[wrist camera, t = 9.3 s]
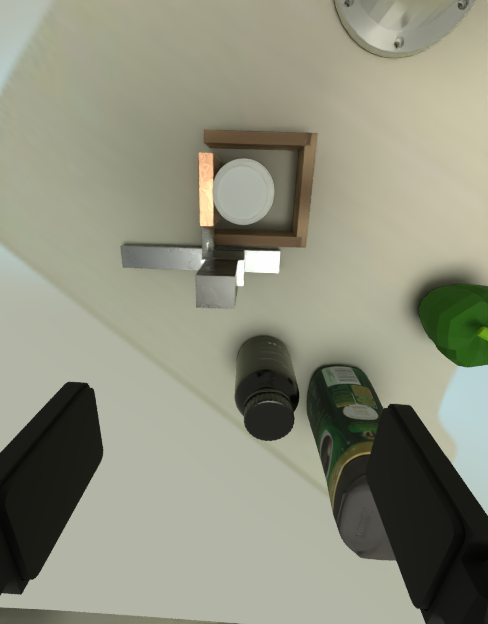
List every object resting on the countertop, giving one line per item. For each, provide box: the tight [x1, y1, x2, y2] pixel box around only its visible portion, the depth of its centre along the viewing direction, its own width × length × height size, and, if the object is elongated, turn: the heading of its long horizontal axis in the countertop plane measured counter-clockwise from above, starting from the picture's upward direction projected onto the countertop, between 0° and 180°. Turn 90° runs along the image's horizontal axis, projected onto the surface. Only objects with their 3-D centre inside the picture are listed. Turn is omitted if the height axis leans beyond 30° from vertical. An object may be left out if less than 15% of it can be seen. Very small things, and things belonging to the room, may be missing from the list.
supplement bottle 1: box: [212, 158, 275, 225], centre depth 29 cm, size 5×5×10 cm
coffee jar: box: [307, 366, 396, 560], centre depth 34 cm, size 10×8×19 cm
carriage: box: [195, 153, 245, 309], centre depth 28 cm, size 12×4×12 cm, turn 178°
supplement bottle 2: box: [235, 336, 299, 441], centre depth 35 cm, size 7×7×12 cm
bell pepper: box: [418, 284, 488, 367], centre depth 33 cm, size 8×8×10 cm
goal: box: [204, 130, 318, 248], centre depth 31 cm, size 10×10×4 cm
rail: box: [121, 244, 280, 273], centre depth 35 cm, size 2×18×1 cm, turn 88°
